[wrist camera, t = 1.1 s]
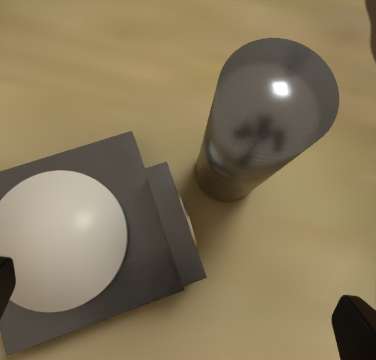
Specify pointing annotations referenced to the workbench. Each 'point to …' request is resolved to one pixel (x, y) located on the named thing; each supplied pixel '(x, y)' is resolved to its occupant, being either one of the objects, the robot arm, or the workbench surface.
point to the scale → (137, 239)
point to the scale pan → (61, 239)
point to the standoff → (264, 115)
